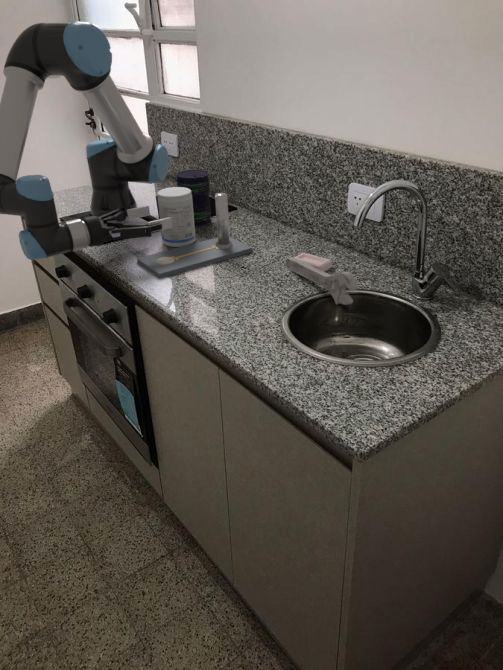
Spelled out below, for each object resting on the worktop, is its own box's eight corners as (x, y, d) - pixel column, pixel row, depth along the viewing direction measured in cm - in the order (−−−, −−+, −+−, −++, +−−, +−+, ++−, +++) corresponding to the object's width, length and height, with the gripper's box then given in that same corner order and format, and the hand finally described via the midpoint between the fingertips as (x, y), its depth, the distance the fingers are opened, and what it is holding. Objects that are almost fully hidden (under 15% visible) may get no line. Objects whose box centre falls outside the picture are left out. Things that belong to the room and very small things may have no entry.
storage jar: (176, 219, 177) (172, 171, 169) (206, 215, 180) (203, 168, 172) (184, 228, 169) (180, 179, 161) (215, 224, 171) (212, 175, 164)
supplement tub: (165, 236, 163) (159, 186, 156) (197, 236, 163) (193, 185, 156) (160, 248, 155) (154, 196, 147) (194, 248, 155) (189, 195, 147)
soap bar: (320, 275, 137) (320, 266, 136) (290, 266, 142) (290, 258, 141) (332, 268, 140) (332, 259, 139) (302, 260, 145) (302, 251, 144)
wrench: (292, 276, 143) (358, 312, 117) (285, 278, 142) (350, 313, 117) (290, 246, 140) (358, 275, 114) (284, 247, 139) (350, 277, 114)
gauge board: (137, 262, 146) (136, 257, 146) (226, 239, 160) (226, 234, 159) (159, 278, 137) (159, 273, 136) (252, 251, 151) (252, 247, 150)
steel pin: (212, 244, 153) (208, 194, 146) (226, 241, 155) (223, 191, 148) (221, 249, 150) (218, 198, 143) (235, 245, 152) (233, 194, 145)
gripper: (71, 234, 152) (142, 218, 162) (105, 261, 134) (182, 241, 144) (65, 207, 148) (138, 192, 159) (100, 231, 130) (180, 213, 141)
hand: (159, 216), depth 152 cm, fingers open, 13 cm apart
